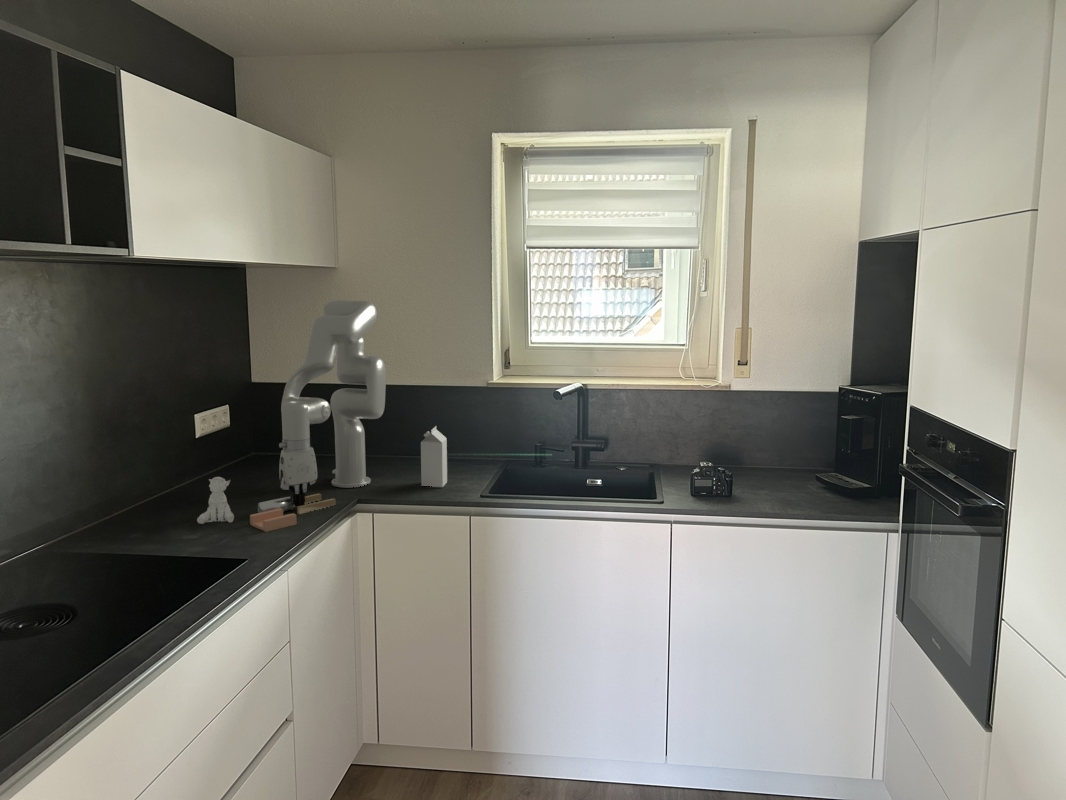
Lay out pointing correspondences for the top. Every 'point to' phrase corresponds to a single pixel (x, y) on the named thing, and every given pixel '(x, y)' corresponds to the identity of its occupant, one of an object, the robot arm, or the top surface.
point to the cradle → (272, 520)
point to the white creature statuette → (217, 503)
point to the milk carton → (434, 459)
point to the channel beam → (314, 504)
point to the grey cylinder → (276, 504)
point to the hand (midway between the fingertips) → (299, 505)
